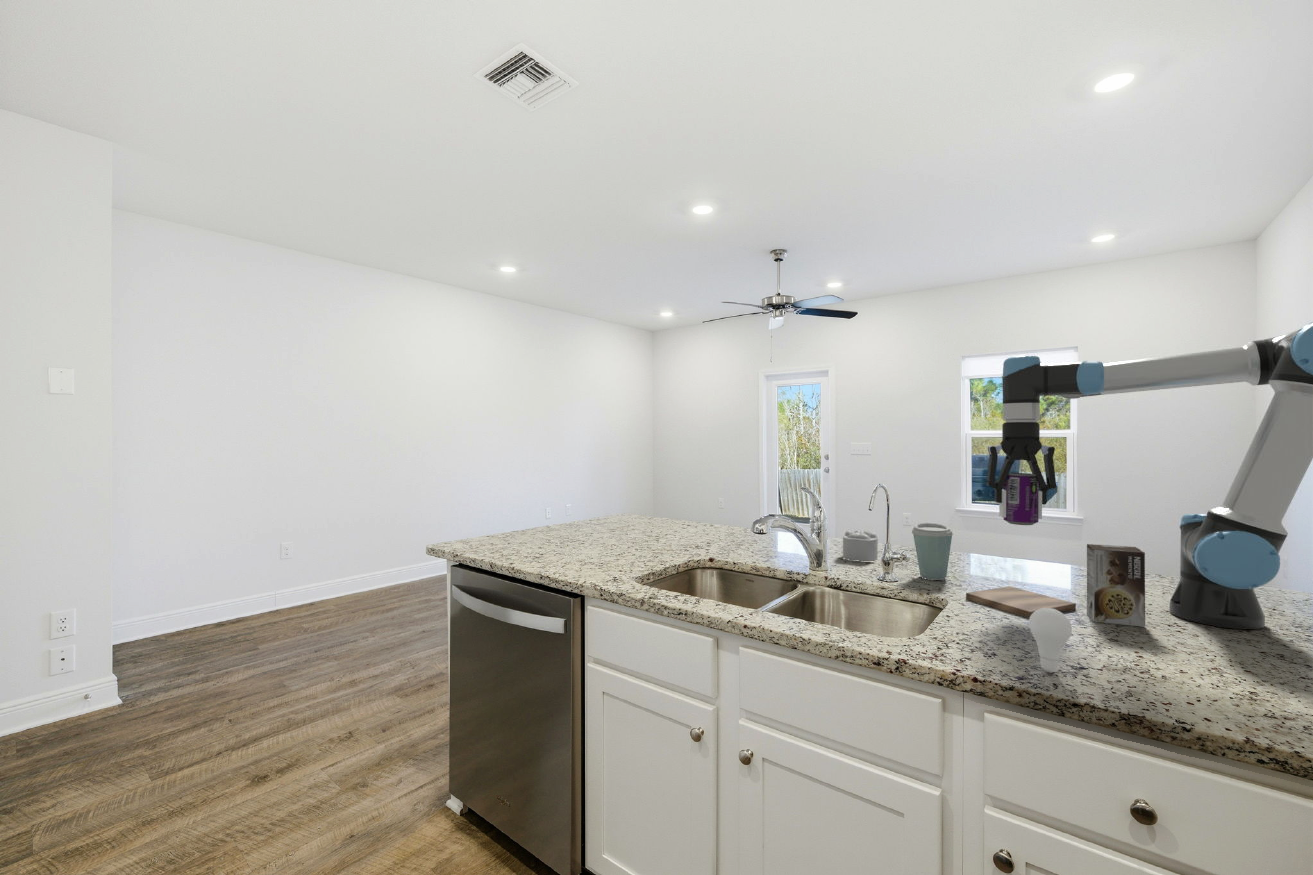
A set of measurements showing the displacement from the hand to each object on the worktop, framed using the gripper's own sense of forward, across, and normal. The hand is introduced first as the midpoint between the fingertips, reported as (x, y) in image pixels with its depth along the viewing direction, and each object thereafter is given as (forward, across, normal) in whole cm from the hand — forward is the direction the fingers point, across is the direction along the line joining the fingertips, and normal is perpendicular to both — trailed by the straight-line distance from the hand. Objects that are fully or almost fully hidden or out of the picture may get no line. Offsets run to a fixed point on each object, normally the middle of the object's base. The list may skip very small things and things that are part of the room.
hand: (1020, 517), depth 137 cm
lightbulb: (+21, +7, +43) cm, 48 cm away
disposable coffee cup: (+21, +16, -21) cm, 34 cm away
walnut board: (+21, 0, 0) cm, 21 cm away
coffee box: (+21, -16, +7) cm, 28 cm away
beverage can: (+2, 0, 0) cm, 2 cm away
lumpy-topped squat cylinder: (+21, +34, -42) cm, 58 cm away
